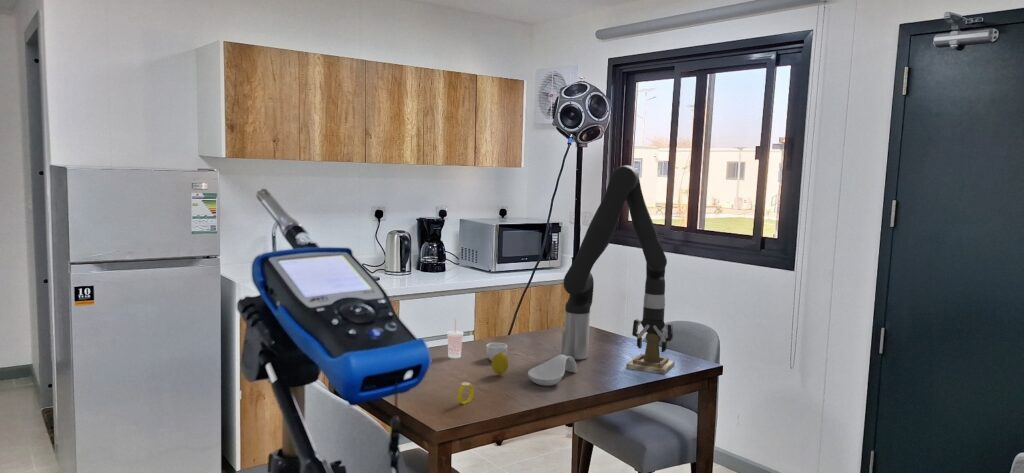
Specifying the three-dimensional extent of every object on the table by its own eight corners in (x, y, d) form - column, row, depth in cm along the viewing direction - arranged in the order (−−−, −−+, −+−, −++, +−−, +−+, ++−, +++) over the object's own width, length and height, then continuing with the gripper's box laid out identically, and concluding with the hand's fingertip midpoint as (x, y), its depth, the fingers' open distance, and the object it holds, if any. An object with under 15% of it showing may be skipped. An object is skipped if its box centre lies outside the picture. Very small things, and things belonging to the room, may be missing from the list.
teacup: (498, 363, 250) (498, 349, 250) (481, 359, 255) (481, 345, 254) (514, 358, 258) (515, 344, 258) (497, 354, 263) (498, 340, 262)
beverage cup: (464, 358, 256) (466, 320, 255) (448, 359, 254) (449, 321, 252) (459, 353, 262) (461, 317, 260) (444, 354, 259) (445, 317, 258)
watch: (462, 407, 204) (462, 387, 203) (455, 405, 206) (455, 385, 205) (475, 400, 209) (475, 381, 208) (468, 398, 211) (468, 379, 210)
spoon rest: (551, 391, 221) (552, 369, 220) (520, 384, 228) (521, 363, 227) (586, 375, 241) (587, 354, 240) (556, 368, 247) (557, 348, 247)
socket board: (626, 367, 250) (626, 360, 250) (637, 359, 263) (637, 352, 263) (664, 374, 244) (665, 366, 244) (674, 364, 257) (674, 357, 257)
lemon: (496, 378, 232) (496, 355, 231) (488, 374, 237) (489, 351, 236) (510, 376, 235) (511, 353, 234) (503, 372, 240) (504, 349, 239)
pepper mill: (659, 365, 250) (661, 335, 248) (642, 363, 251) (644, 333, 250) (660, 361, 255) (662, 331, 254) (644, 359, 257) (645, 330, 256)
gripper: (631, 305, 251) (629, 349, 253) (671, 309, 245) (668, 355, 247) (637, 301, 258) (635, 345, 260) (676, 306, 252) (673, 350, 253)
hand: (651, 349), depth 253 cm, fingers open, 8 cm apart
